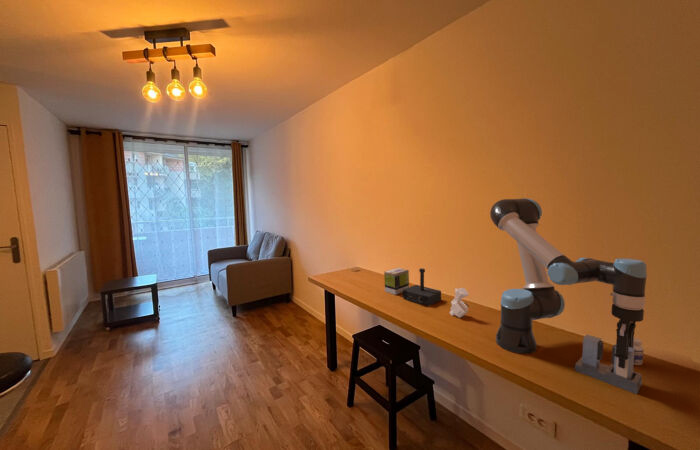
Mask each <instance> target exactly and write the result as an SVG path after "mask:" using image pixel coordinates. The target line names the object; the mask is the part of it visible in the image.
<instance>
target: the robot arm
mask: <svg viewBox="0 0 700 450" xmlns="http://www.w3.org/2000/svg"><path fill="white" fill-rule="evenodd" d="M489 215H490V220H491V222H492V223H493V224H494V225H495V226H496V227H497V229H499V230H500V231H503V232H504V231H505V233H507V234H508V235H509V236H510V237H511V238H512V239H514V240H515V241H516V244H517V245H516V246H517V249H518V253H519V258H520V263H521V267H522V271H523V275H524V281H525V284H524V286H523V287H522V288H508V289H506V290H504V291H503V292H502V294H501V299H500V325H499V327H498V330H497V332H496V334H495V342H496V344H497V345H498V346H499V347H501V348H503V349H504V350H507V351H508V352H512V353H515V354H522V355H525V354H526V355H527V354H534V353H535V352H536V351H537V347H538V346H537V345H538V344H537V341H536V339H535V335H534V331H533V321H536V320H542V319H551V318H555V317H558V316H559V315H561V314H562V313H563V312H564V311H565V305H566V304H565V302H566V301H565V298H564V296H563V295H562V293H560V292H559V291H558V290H556V288H555V285H554V284H556V285H560V286H572V285H574V284H582V283H583V284H584V283H590V282H591V283H592V282H598V283H604V284H607V285H612V292H611V293H610V294H609V295H610V296H612V301H611V302H612V304H611V311H610V312H611V316H613V317H615V318H617V319H619V320H618V322H617V321H616V322H617V323H616V330H615V331H616V342H615V345H616V354H614V356H616V357H617V361H616V374H617V375H620V376H622V377H625V378H627V375H628V360H629V359H628V350H629V347H631V348H633V341H634V338H635V330H636V328H637V324H636V322H642V321H643V320H644V314H645V310H644V309H645V307H646V306H645V303H646V284H647V278H648V274H647V264H646V262H645V261H643V260H640V259H633V258H626V257H625V258H616V259H614V262H612V261H611V262H610V261H605V260H599V259H595V258H589V257H580V258H578V259H577V260H575V261H573V260H571V259H570V258H569V257H567V256H566V255H565V254H564V253H563V252H561V251H560V250H559V249H558V248H556V247H555V246H554V245H552V244H551V243H550V242H549V241H548V240H546V239H545V238H544V237H543V236H541V235H540V234H539V233H538V231H537V228H538V226H539V221H540V220H541V218H542V215H543V210H542V207H541V205H540V204H539V203H538V202H537V201H536V200H534V199H532V198H523V197H522V198H505V199H500V200H497V201H496V202H495V203H493V205H492V206H491V208H490V212H489ZM546 269H547V271H546ZM549 280H550V281H551V282H550V281H549ZM552 283H553V284H552ZM634 354H635V351H634Z"/></svg>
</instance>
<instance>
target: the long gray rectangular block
mask: <svg viewBox="0 0 700 450" xmlns="http://www.w3.org/2000/svg"><path fill="white" fill-rule="evenodd" d="M634 350H635V348H631V347H629V350H628V359H629V360H628V375H627V378H628V379H632V377H633V371H634V365H635V364H634ZM614 354H616V344H614V345H613V346H612V347H611V359H610V361H611V363H610V364H612V365H614V374H616V361H617V357H616V356H614Z"/></svg>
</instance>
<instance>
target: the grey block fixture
mask: <svg viewBox="0 0 700 450" xmlns="http://www.w3.org/2000/svg"><path fill="white" fill-rule="evenodd" d="M603 353H604V341H603V340H602V338H600V337H596V336H593V335H590V334H586V335H584V336H583V339H582V356H581V357H580V358H579V359H578V361H576V362H575V365H574V371H575V372H577V373H580V374H583V375H584V376H587V377H591V378H593V379H595V380H599V381H601V382H604V383H607V384H609V385H611V386H614V387H616V388H619V389H622V390H623V391H627V392H629V393H633V394H634V395H638V393H639V391H640V389H641V387H642V384H643V383H642V381H643V377H642V373H640V372H636V371H634V370H633V377H632V379H628V378H625V377H622V376H620V375H617V374H614V365H612V364H611V363H610V364H609V365H607V364H605V363H604V364H603V363H601V362H600V361H602V358H604V357H603V355H604V354H603Z"/></svg>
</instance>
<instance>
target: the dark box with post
mask: <svg viewBox="0 0 700 450" xmlns="http://www.w3.org/2000/svg"><path fill="white" fill-rule="evenodd" d="M418 271H419V282H420V283H419V284H415V285H411V286H409V288H406V289H403V292H402V299H404V300H407V301H409V302H412V303H415V304H418V305H422V306H423V305H424V306H426V305H427V307H430V306H432V305H434V304H436V303H439V302H440V301H442V291H441V290H440V289H435V288H431V287H428V286H427V287H426V286H425V272H426V268H419V270H418Z"/></svg>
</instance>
